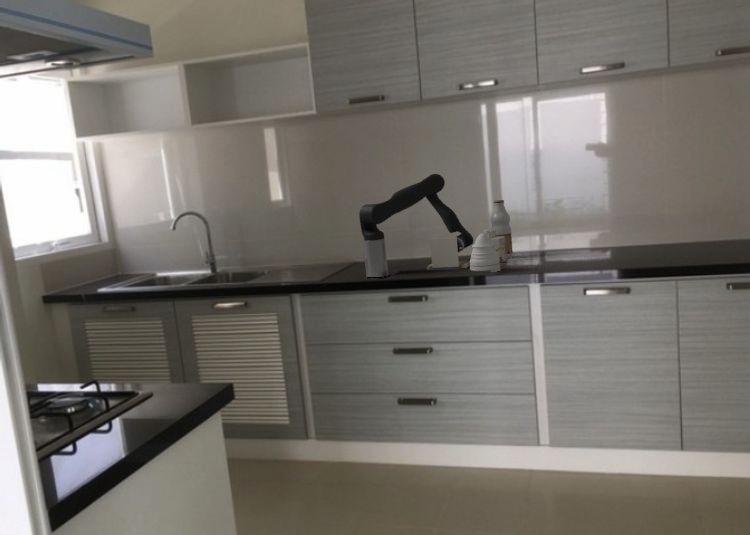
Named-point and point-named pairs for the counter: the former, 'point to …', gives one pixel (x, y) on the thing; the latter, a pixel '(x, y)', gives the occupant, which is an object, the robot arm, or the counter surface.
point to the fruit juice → (502, 226)
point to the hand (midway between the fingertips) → (444, 251)
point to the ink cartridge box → (498, 245)
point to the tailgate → (444, 253)
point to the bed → (461, 265)
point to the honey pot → (484, 254)
